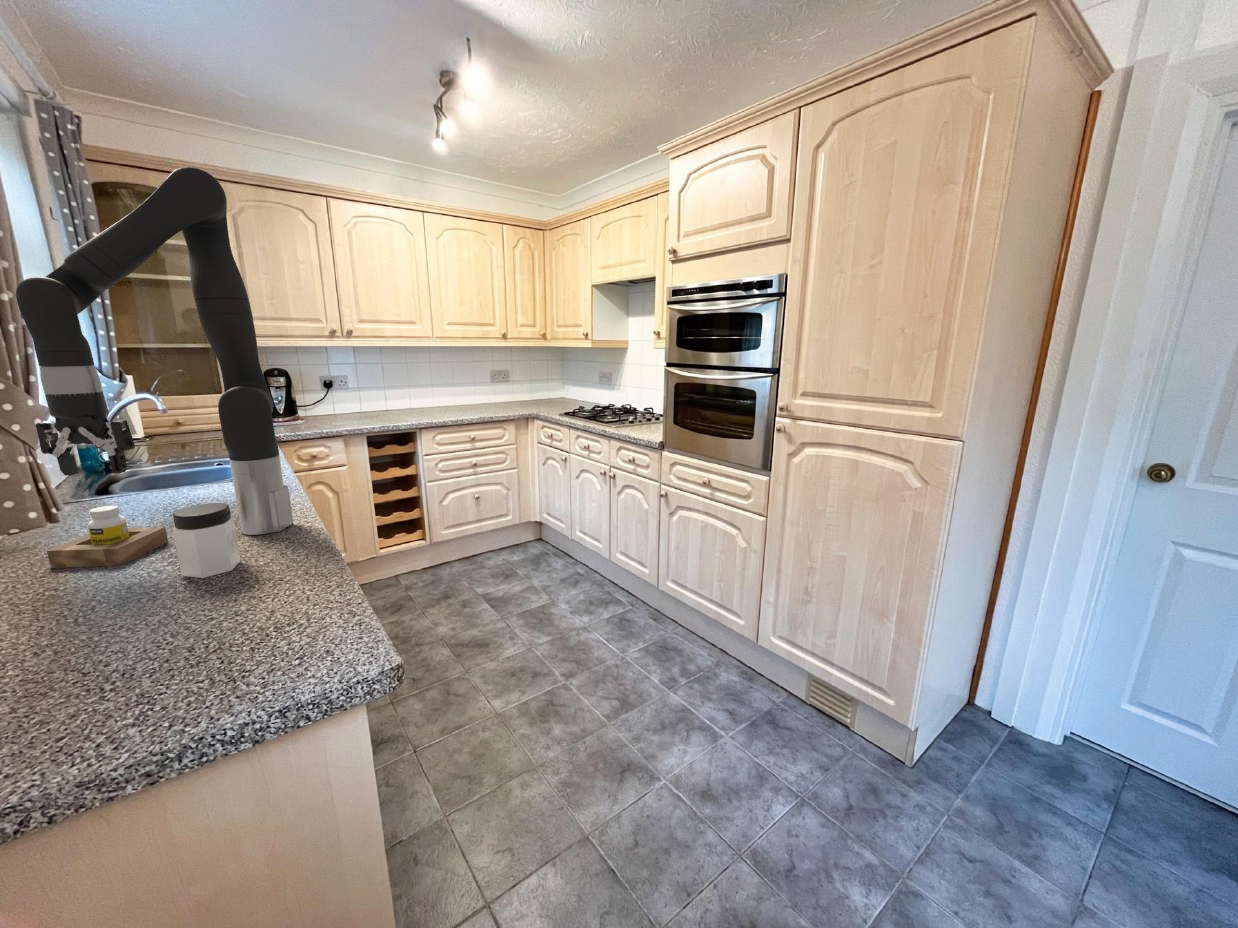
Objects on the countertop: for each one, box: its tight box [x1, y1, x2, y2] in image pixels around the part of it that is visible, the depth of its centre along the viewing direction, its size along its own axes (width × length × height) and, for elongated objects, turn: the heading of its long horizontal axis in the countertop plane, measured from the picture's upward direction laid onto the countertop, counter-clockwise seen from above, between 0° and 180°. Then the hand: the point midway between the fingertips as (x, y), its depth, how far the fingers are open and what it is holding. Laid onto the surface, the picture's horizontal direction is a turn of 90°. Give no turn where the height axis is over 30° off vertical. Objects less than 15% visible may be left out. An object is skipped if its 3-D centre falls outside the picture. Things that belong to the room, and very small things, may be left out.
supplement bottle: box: [87, 505, 130, 545], centre depth 100 cm, size 5×5×10 cm
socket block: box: [46, 526, 169, 569], centre depth 100 cm, size 12×12×4 cm
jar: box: [172, 502, 241, 579], centre depth 94 cm, size 9×8×12 cm
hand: (95, 473), depth 97 cm, fingers open, 8 cm apart
